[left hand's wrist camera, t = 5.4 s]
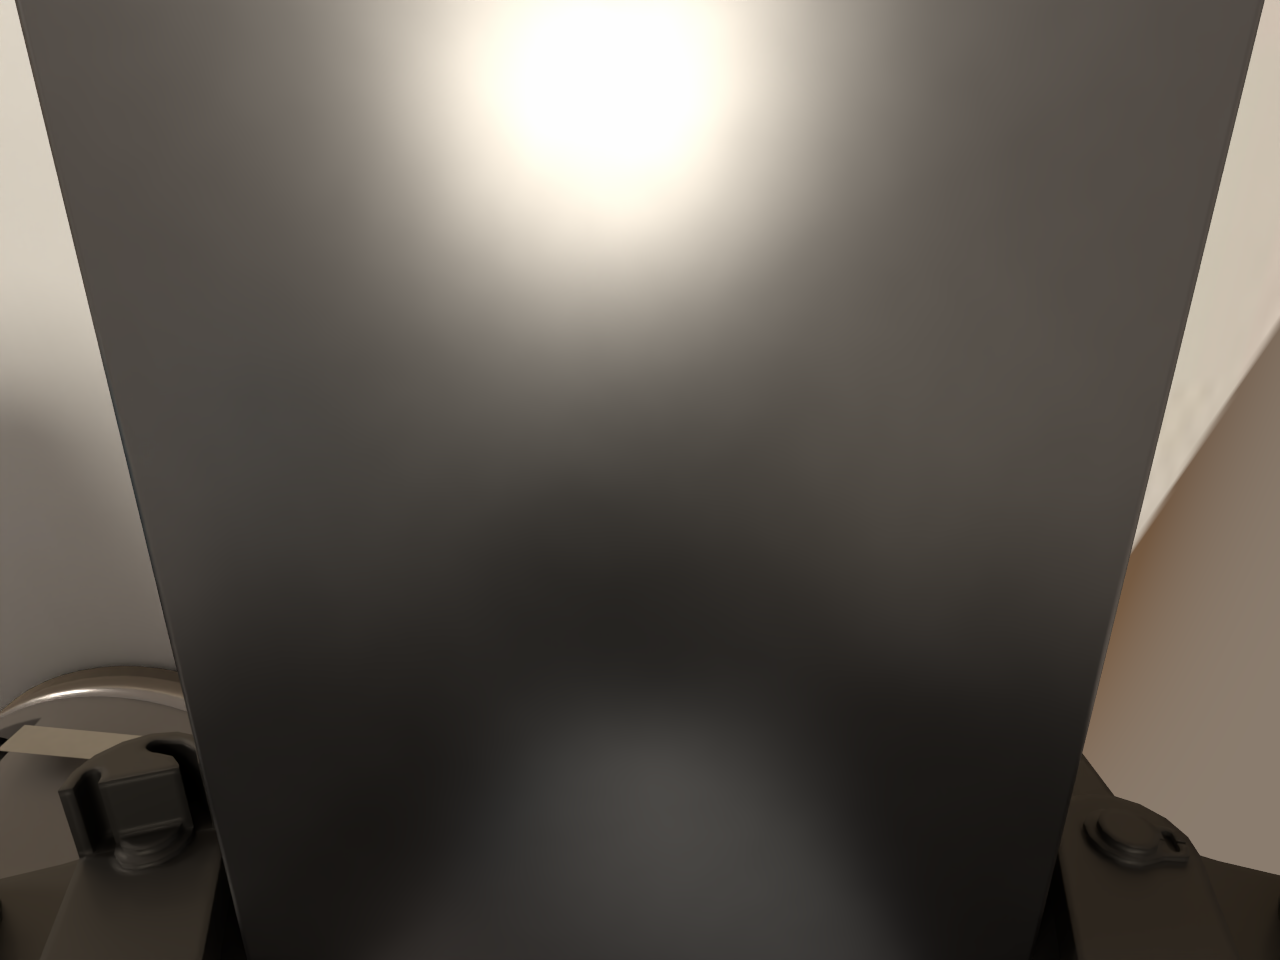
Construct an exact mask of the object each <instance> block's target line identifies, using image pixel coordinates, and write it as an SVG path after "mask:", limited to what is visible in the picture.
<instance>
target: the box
mask: <svg viewBox="0 0 1280 960" xmlns="http://www.w3.org/2000/svg"><path fill="white" fill-rule="evenodd" d="M15 3H16V7H17V11H18V15H19V19H20V23H21V27H22V32H23V36H24V40H25V44H26V48H27V52H28V56H29V60H30V65H31V69H32V73H33V77H34V81H35V85H36V89H37V94H38V98H39V102H40V106H41V110H42V114H43V118H44V122H45V127H46V131H47V135H48V139H49V143H50V147H51V151H52V155H53V160H54V164H55V168H56V172H57V176H58V180H59V184H60V189H61V193H62V197H63V201H64V205H65V209H66V213H67V217H68V222H69V226H70V230H71V234H72V238H73V242H74V246H75V250H76V255H77V259H78V263H79V267H80V271H81V275H82V279H83V284H84V288H85V292H86V296H87V300H88V304H89V308H90V312H91V317H92V321H93V325H94V329H95V333H96V337H97V341H98V345H99V350H100V354H101V358H102V362H103V366H104V370H105V374H106V379H107V383H108V387H109V391H110V395H111V399H112V403H113V407H114V412H115V416H116V420H117V424H118V428H119V432H120V436H121V440H122V445H123V449H124V453H125V457H126V461H127V465H128V469H129V474H130V478H131V482H132V486H133V490H134V494H135V498H136V502H137V507H138V511H139V515H140V519H141V523H142V527H143V531H144V535H145V540H146V544H147V548H148V552H149V556H150V560H151V564H152V569H153V573H154V577H155V581H156V585H157V589H158V593H159V597H160V602H161V606H162V610H163V614H164V618H165V622H166V626H167V630H168V635H169V639H170V643H171V647H172V651H173V655H174V659H175V664H176V668H177V672H178V676H179V680H180V684H181V688H182V692H183V697H184V701H185V705H186V709H187V713H188V717H189V721H190V726H191V730H192V734H193V738H194V742H195V746H196V750H197V754H198V759H199V763H200V767H201V771H202V775H203V779H204V783H205V787H206V792H207V796H208V800H209V804H210V808H211V812H212V816H213V821H214V825H215V829H216V833H217V837H218V841H219V845H220V849H221V854H222V858H223V862H224V866H225V870H226V874H227V878H228V882H229V887H230V891H231V895H232V899H233V903H234V907H235V911H236V916H237V920H238V924H239V928H240V932H241V936H242V940H243V944H244V949H245V953H246V957H247V960H1032V958H1033V953H1034V949H1035V945H1036V941H1037V937H1038V933H1039V929H1040V925H1041V920H1042V916H1043V912H1044V908H1045V904H1046V900H1047V896H1048V892H1049V887H1050V883H1051V879H1052V875H1053V871H1054V867H1055V863H1056V859H1057V854H1058V850H1059V846H1060V842H1061V838H1062V834H1063V830H1064V826H1065V821H1066V817H1067V813H1068V809H1069V805H1070V801H1071V797H1072V793H1073V788H1074V784H1075V780H1076V776H1077V772H1078V768H1079V764H1080V760H1081V755H1082V751H1083V747H1084V743H1085V739H1086V735H1087V731H1088V727H1089V722H1090V718H1091V714H1092V710H1093V706H1094V702H1095V698H1096V694H1097V689H1098V685H1099V681H1100V677H1101V673H1102V669H1103V665H1104V660H1105V656H1106V652H1107V648H1108V644H1109V640H1110V636H1111V632H1112V627H1113V623H1114V619H1115V615H1116V611H1117V607H1118V603H1119V599H1120V594H1121V590H1122V586H1123V582H1124V578H1125V574H1126V570H1127V566H1128V562H1129V557H1130V553H1131V549H1132V545H1133V541H1134V537H1135V533H1136V529H1137V524H1138V520H1139V516H1140V512H1141V508H1142V504H1143V500H1144V496H1145V491H1146V487H1147V483H1148V479H1149V475H1150V471H1151V467H1152V463H1153V458H1154V454H1155V450H1156V446H1157V442H1158V438H1159V434H1160V430H1161V425H1162V421H1163V417H1164V413H1165V409H1166V405H1167V401H1168V397H1169V392H1170V388H1171V384H1172V380H1173V376H1174V372H1175V368H1176V364H1177V359H1178V355H1179V351H1180V347H1181V343H1182V339H1183V335H1184V331H1185V326H1186V322H1187V318H1188V314H1189V310H1190V306H1191V302H1192V298H1193V293H1194V289H1195V285H1196V281H1197V277H1198V273H1199V269H1200V264H1201V260H1202V256H1203V252H1204V248H1205V244H1206V240H1207V236H1208V231H1209V227H1210V223H1211V219H1212V215H1213V211H1214V207H1215V203H1216V198H1217V194H1218V190H1219V186H1220V182H1221V178H1222V174H1223V170H1224V165H1225V161H1226V157H1227V153H1228V149H1229V145H1230V141H1231V137H1232V132H1233V128H1234V124H1235V120H1236V116H1237V112H1238V108H1239V104H1240V99H1241V95H1242V91H1243V87H1244V83H1245V79H1246V75H1247V71H1248V66H1249V62H1250V58H1251V54H1252V50H1253V46H1254V42H1255V38H1256V33H1257V29H1258V25H1259V21H1260V17H1261V13H1262V9H1263V5H1264V0H15Z"/></svg>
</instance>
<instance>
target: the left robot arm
mask: <svg viewBox="0 0 1280 960" xmlns="http://www.w3.org/2000/svg"><path fill="white" fill-rule="evenodd" d="M0 960H247V957H246V953H245V949H244V944H243V940H242V936H241V932H240V928H239V924H238V920H237V916H236V911H235V907H234V903H233V899H232V895H231V891H230V887H229V882H228V878H227V874H226V870H225V866H224V862H223V858H222V854H221V849H220V845H219V841H218V837H217V833H216V829H215V825H214V821H213V816H212V812H211V808H210V804H209V800H208V796H207V792H206V787H205V783H204V779H203V775H202V771H201V767H200V763H199V759H198V754H197V750H196V746H195V742H194V738H193V734H192V730H191V726H190V721H189V717H188V713H187V709H186V705H185V701H184V697H183V692H182V688H181V684H180V680H179V676H178V672H177V671H172V670H166V669H161V668H151V667H141V666H112V667H99V668H92V669H86V670H80V671H76V672H72V673H69V674H65V675H61V676H59V677H56V678H53V679H50V680H48V681H45V682H43V683H41V684H39V685H37V686H35V687H33V688H31V689H29V690H28V691H26V692H25V693H23V694H22V695H20V696H19V697H17V698H16V699H15V700H14V701H12V702H11V703H10V704H9V705H8V706H7V707H5V708H4V709H3V710H2V711H1V712H0ZM1032 960H1280V875H1276V874H1271V873H1267V872H1263V871H1259V870H1254V869H1250V868H1246V867H1241V866H1237V865H1233V864H1228V863H1224V862H1220V861H1216V860H1213V859H1210V858H1206V857H1203V856H1200V855H1199V853H1198V852H1197V850H1196V849H1195V847H1194V846H1193V844H1192V843H1191V841H1190V840H1189V838H1188V837H1187V836H1186V835H1185V834H1184V833H1182V832H1181V831H1180V830H1179V829H1178V828H1177V827H1176V826H1174V825H1173V824H1172V823H1171V822H1170V821H1168V820H1167V819H1166V818H1164V817H1162V816H1161V815H1159V814H1157V813H1155V812H1153V811H1151V810H1150V809H1148V808H1146V807H1144V806H1142V805H1140V804H1138V803H1134V802H1131V801H1128V800H1125V799H1122V798H1118V797H1115V796H1114V795H1113V793H1112V792H1111V791H1110V789H1109V788H1108V787H1107V786H1106V784H1105V783H1104V782H1103V780H1102V779H1101V778H1100V776H1099V775H1098V774H1097V772H1096V771H1095V770H1094V768H1093V767H1092V766H1091V764H1090V763H1089V762H1088V760H1087V759H1086V758H1085V756H1084V755H1083V754H1082V755H1081V760H1080V764H1079V768H1078V772H1077V776H1076V780H1075V784H1074V788H1073V793H1072V797H1071V801H1070V805H1069V809H1068V813H1067V817H1066V821H1065V826H1064V830H1063V834H1062V838H1061V842H1060V846H1059V850H1058V854H1057V859H1056V863H1055V867H1054V871H1053V875H1052V879H1051V883H1050V887H1049V892H1048V896H1047V900H1046V904H1045V908H1044V912H1043V916H1042V920H1041V925H1040V929H1039V933H1038V937H1037V941H1036V945H1035V949H1034V953H1033V958H1032Z"/></svg>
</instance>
